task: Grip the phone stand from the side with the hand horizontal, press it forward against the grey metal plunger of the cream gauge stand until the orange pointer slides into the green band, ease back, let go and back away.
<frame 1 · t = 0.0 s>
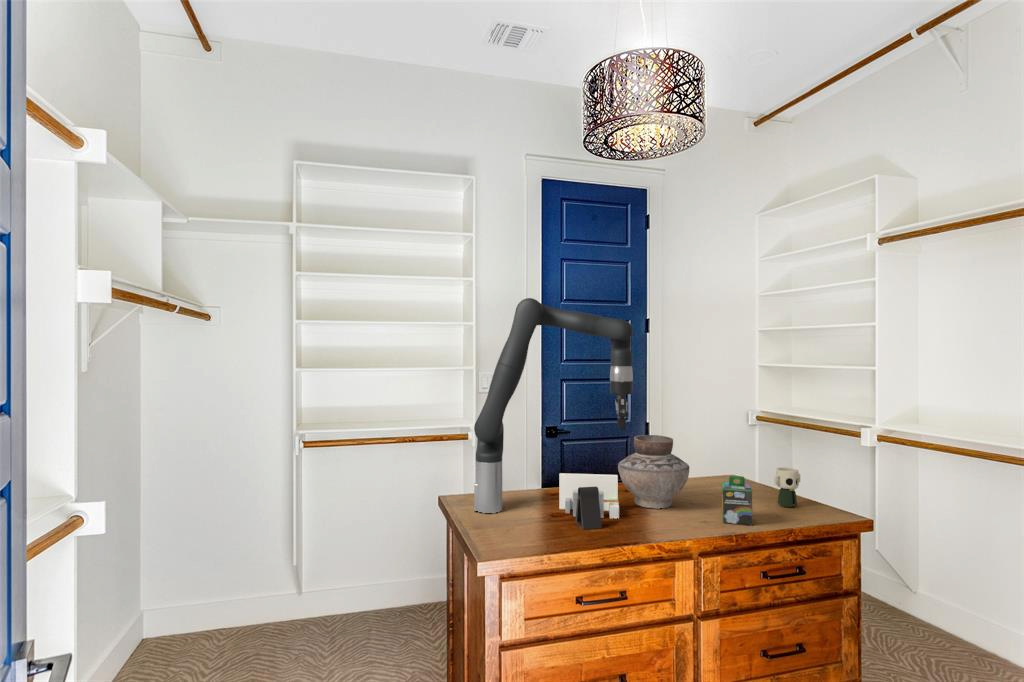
hand: (621, 427, 199), 29 cm above the table, tool pointing down, fingers open, 8 cm apart
character mug: (787, 506, 210), on the table
ceramic pot: (653, 505, 212), on the table
gauge stand: (588, 512, 202), on the table
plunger: (595, 504, 197), point 4 cm above the table, slide at 0.0 cm
phone stand: (588, 525, 188), on the table
chalk box: (736, 521, 193), on the table
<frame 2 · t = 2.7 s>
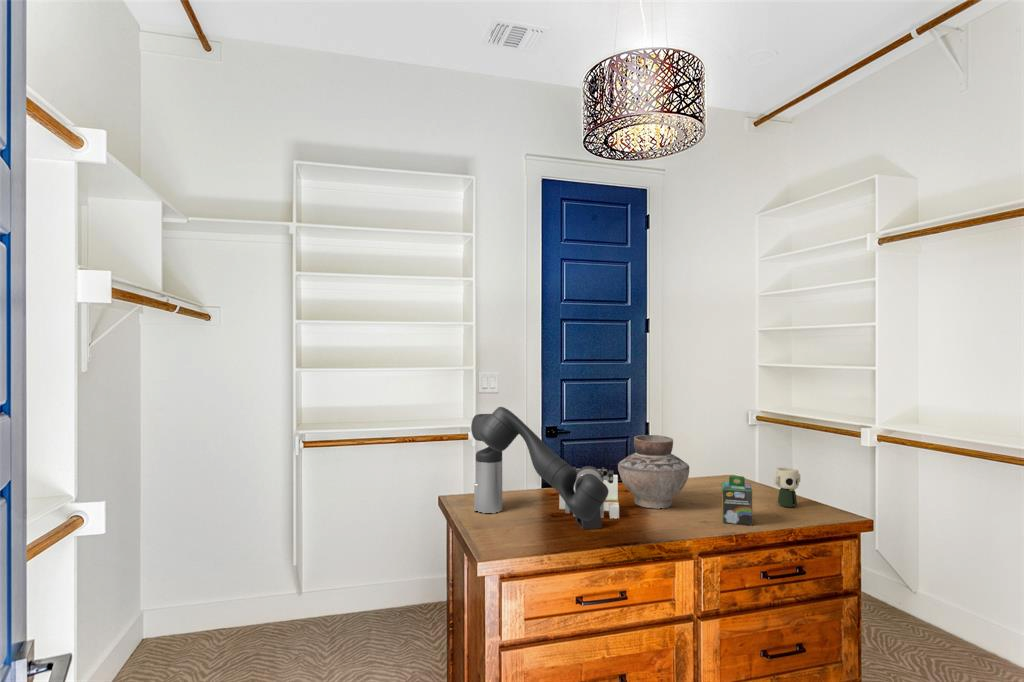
hand: (588, 470, 178), 19 cm above the table, tool horizontal, fingers open, 8 cm apart
nothing on the table moved.
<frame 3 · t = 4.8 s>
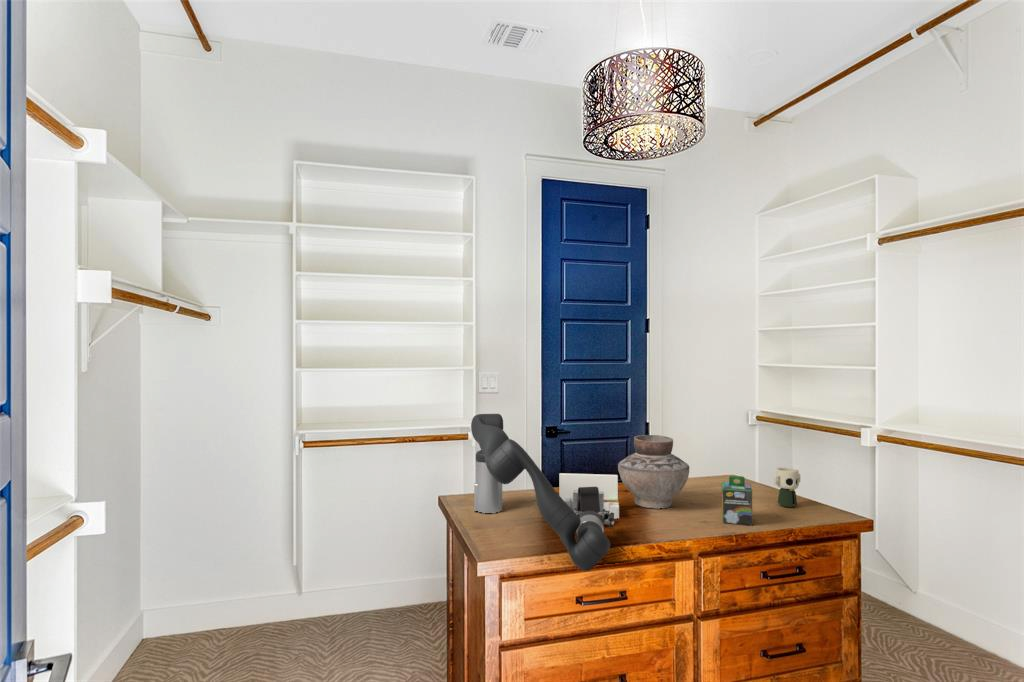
hand: (589, 511, 182), 6 cm above the table, tool horizontal, fingers open, 8 cm apart
nothing on the table moved.
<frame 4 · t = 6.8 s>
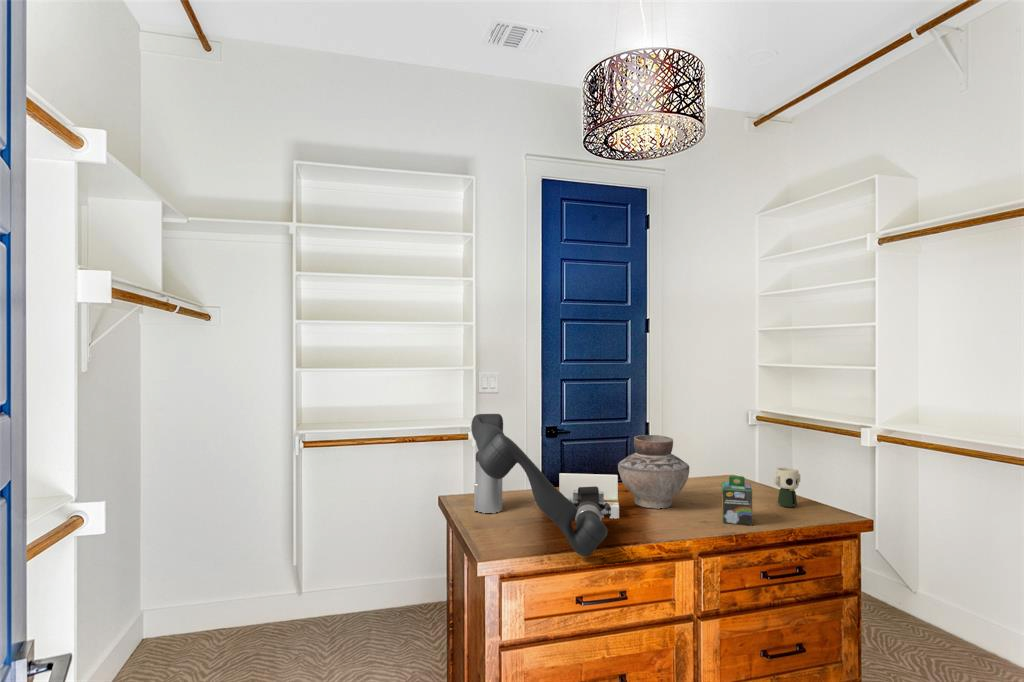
hand: (588, 502, 190), 7 cm above the table, tool horizontal, fingers closed on phone stand, 6 cm apart
phone stand: (588, 525, 188), on the table, touching gripper
everything else where it was.
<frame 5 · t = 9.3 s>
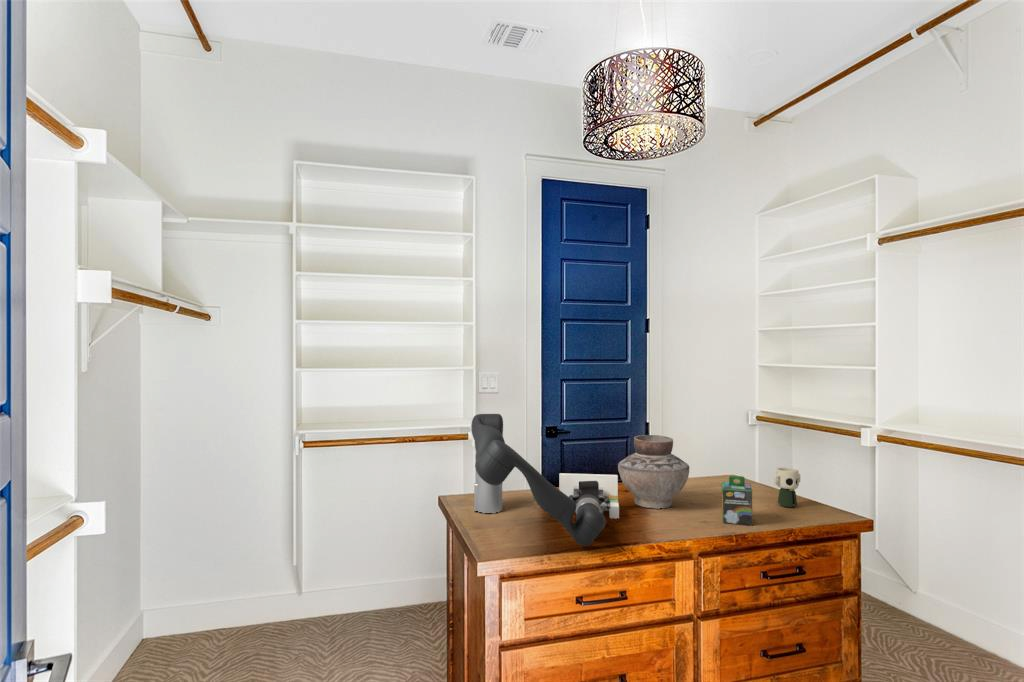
hand: (588, 496, 198), 7 cm above the table, tool horizontal, fingers closed on phone stand, 6 cm apart
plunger: (595, 500, 202), point 4 cm above the table, slide at 5.3 cm, touching phone stand, gauge stand
phone stand: (588, 518, 196), on the table, touching gripper, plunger
everything else where it was.
when the fingers open (7 cm above the table, at t = 10.7 s): phone stand stays where it is, on the table.
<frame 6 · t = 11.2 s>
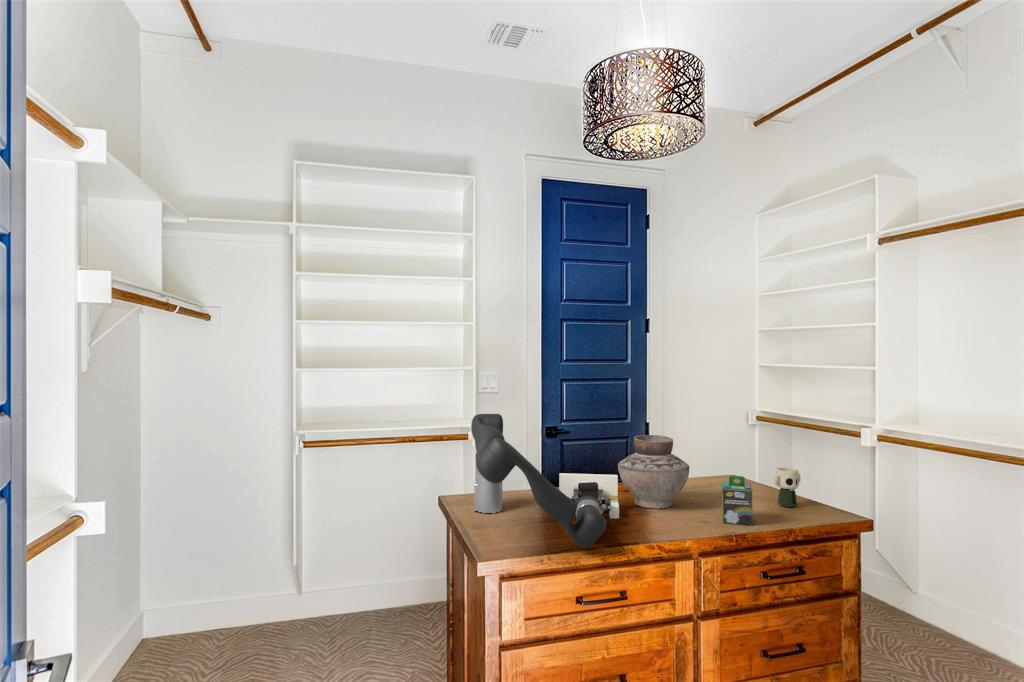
hand: (588, 497, 196), 7 cm above the table, tool horizontal, fingers open, 8 cm apart
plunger: (595, 500, 202), point 4 cm above the table, slide at 5.3 cm, touching gauge stand
phone stand: (588, 520, 194), on the table
everything else where it was.
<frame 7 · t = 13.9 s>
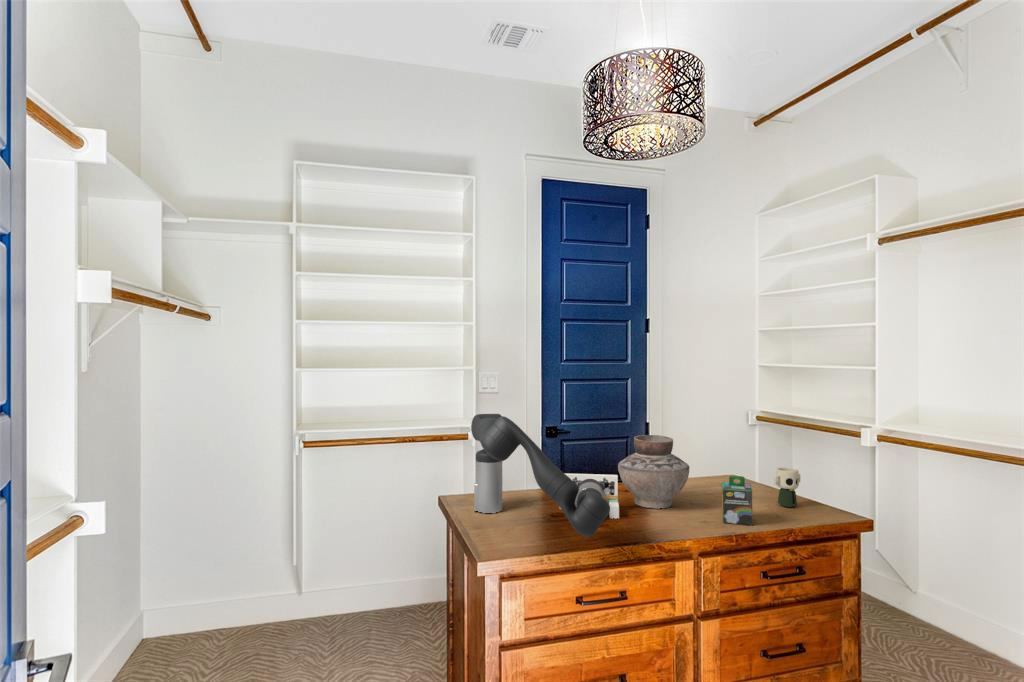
hand: (590, 480, 180), 16 cm above the table, tool horizontal, fingers open, 8 cm apart
nothing on the table moved.
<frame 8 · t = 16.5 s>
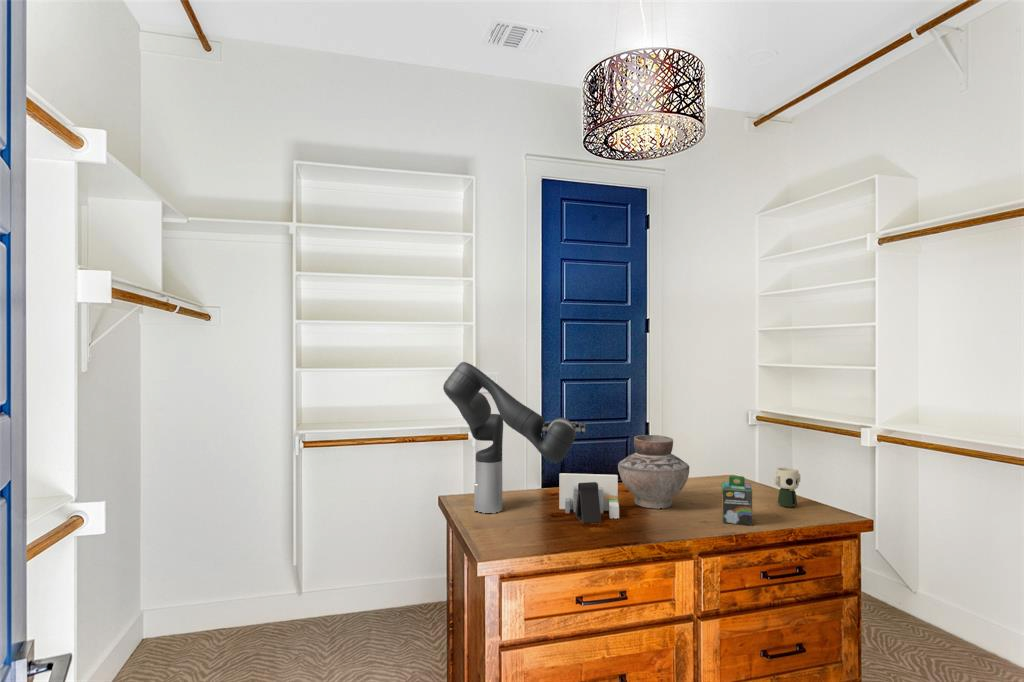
hand: (562, 424, 187), 32 cm above the table, tool horizontal, fingers open, 8 cm apart
nothing on the table moved.
at the end: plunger slide at 5.3 cm; phone stand inside the target area (0.4 cm from its centre), on the table; the gripper is holding nothing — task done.
